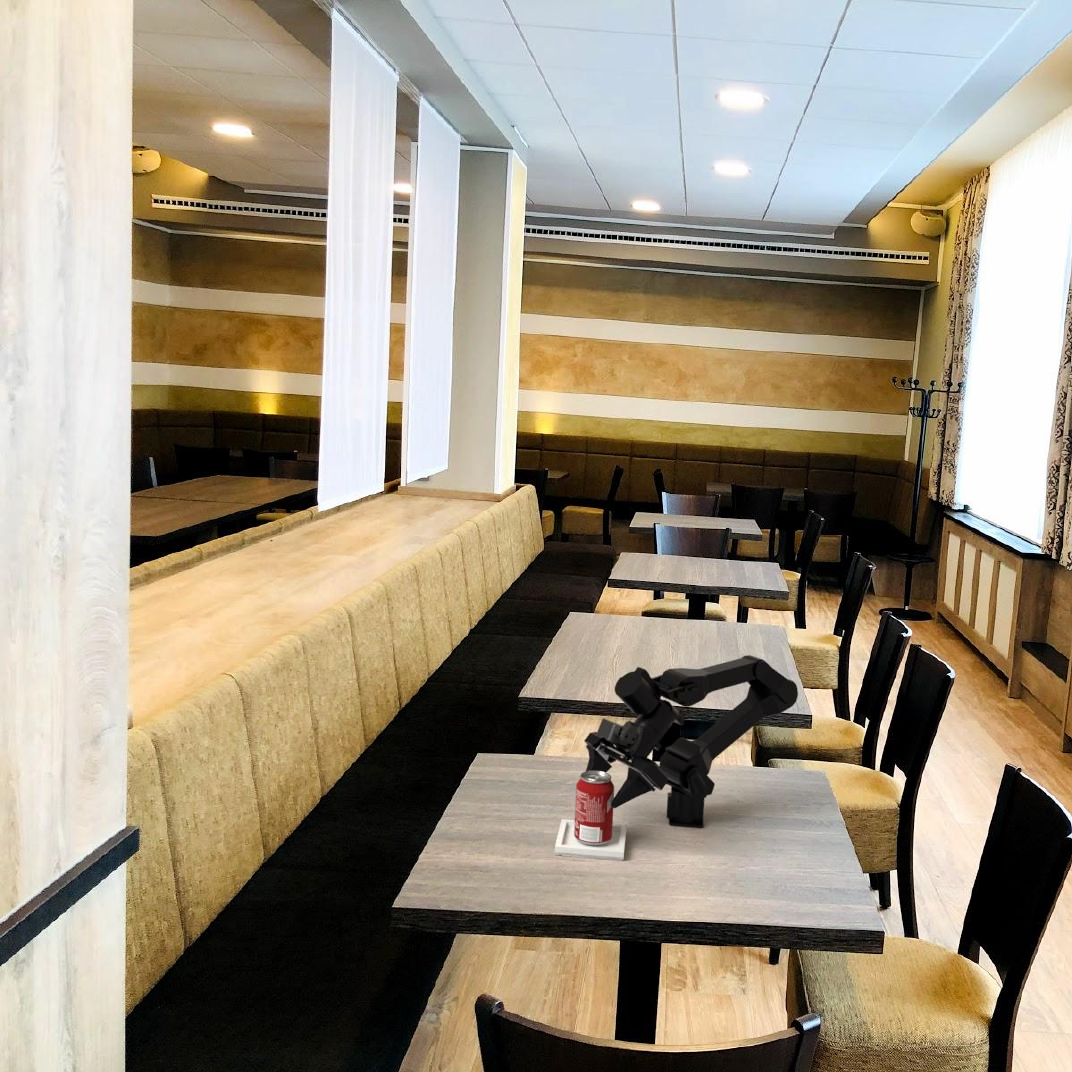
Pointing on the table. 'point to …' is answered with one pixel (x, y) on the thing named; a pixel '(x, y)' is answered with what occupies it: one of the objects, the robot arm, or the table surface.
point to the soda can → (594, 808)
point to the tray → (575, 848)
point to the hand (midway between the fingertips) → (597, 797)
